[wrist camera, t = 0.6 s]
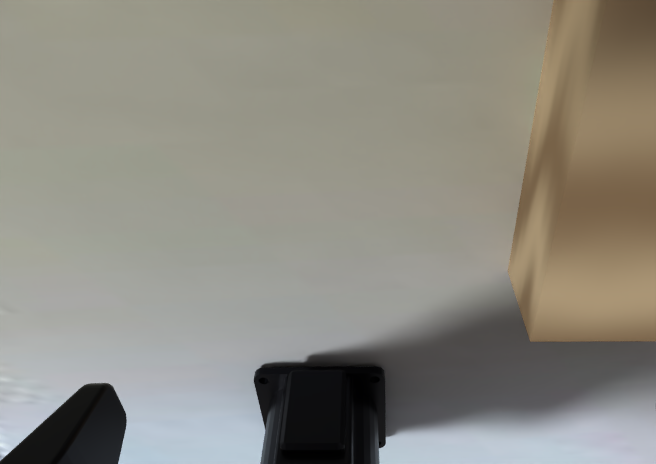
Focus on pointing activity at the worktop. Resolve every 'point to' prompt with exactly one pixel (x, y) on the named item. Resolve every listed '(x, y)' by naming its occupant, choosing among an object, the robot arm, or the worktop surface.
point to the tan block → (591, 179)
